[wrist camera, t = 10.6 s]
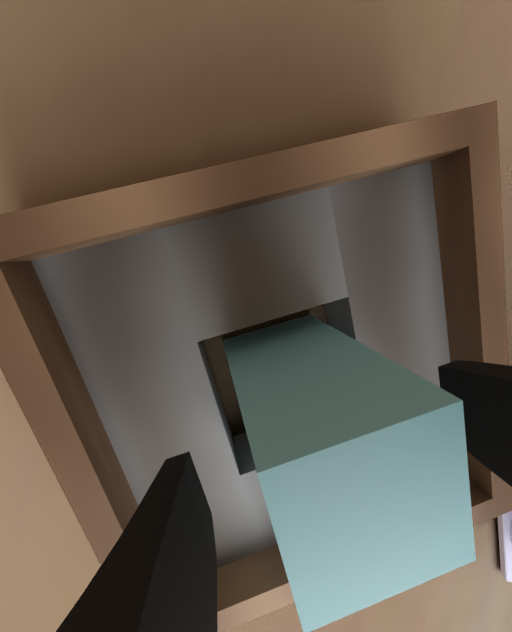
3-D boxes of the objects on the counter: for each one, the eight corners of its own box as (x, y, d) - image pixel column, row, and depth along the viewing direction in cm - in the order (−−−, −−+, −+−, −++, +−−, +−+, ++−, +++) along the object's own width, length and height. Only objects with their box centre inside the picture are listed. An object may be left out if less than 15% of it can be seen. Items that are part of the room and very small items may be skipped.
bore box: (404, 147, 12) (496, 100, 9) (439, 447, 16) (514, 509, 12) (27, 238, 11) (-70, 230, 7) (163, 552, 14) (150, 662, 11)
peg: (309, 314, 13) (462, 400, 6) (326, 393, 14) (475, 560, 7) (222, 340, 13) (256, 473, 5) (245, 420, 14) (304, 634, 6)
